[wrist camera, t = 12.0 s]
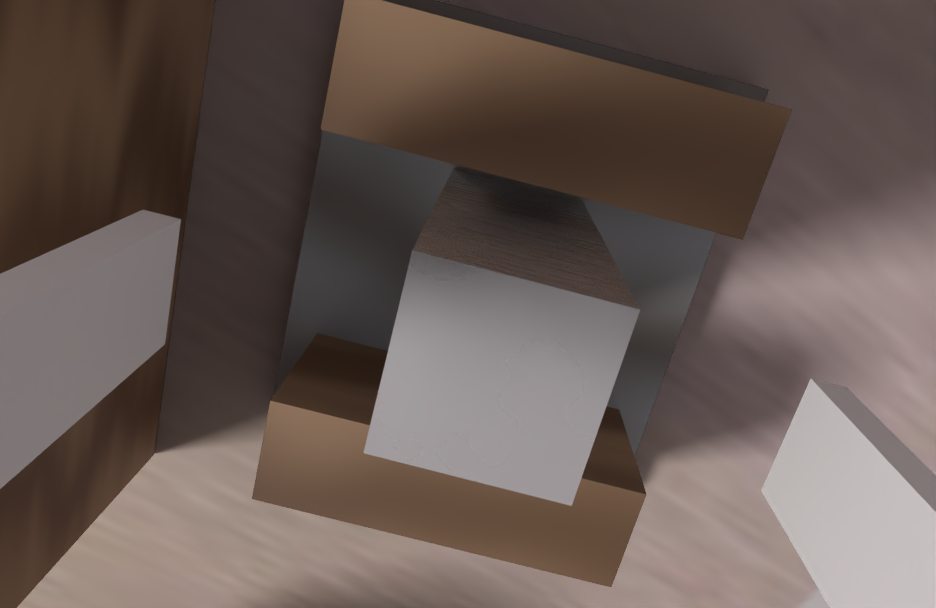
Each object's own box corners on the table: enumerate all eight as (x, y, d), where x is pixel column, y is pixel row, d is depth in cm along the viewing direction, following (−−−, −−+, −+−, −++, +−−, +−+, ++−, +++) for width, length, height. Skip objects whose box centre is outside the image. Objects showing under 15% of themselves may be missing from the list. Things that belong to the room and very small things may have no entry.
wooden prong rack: (166, -192, 21) (-127, -406, 11) (796, -20, 21) (1032, -85, 12) (98, 440, 27) (-127, 650, 17) (586, 560, 27) (629, 828, 18)
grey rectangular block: (453, 168, 22) (412, 250, 13) (583, 203, 22) (640, 309, 13) (422, 293, 23) (363, 453, 14) (545, 325, 24) (571, 506, 14)
